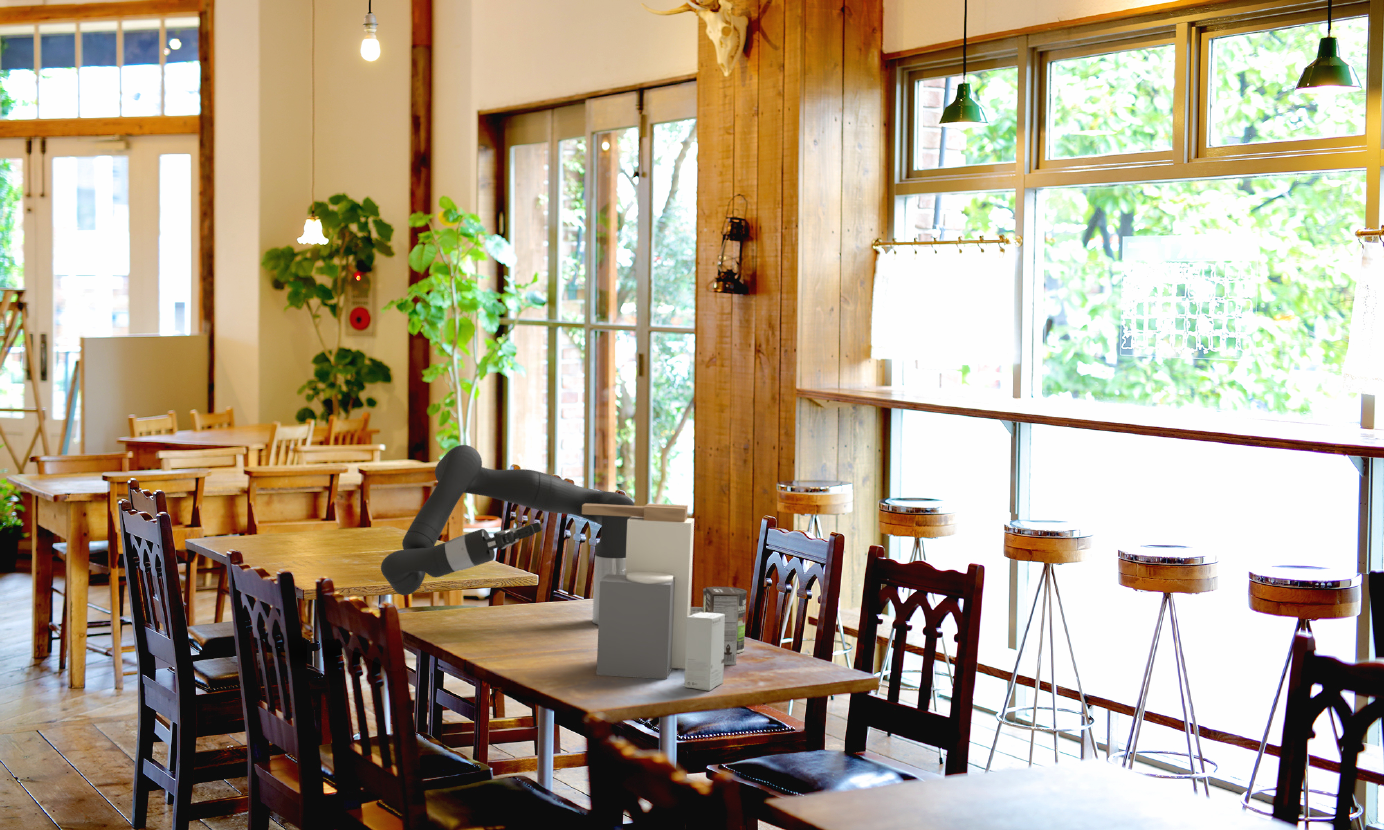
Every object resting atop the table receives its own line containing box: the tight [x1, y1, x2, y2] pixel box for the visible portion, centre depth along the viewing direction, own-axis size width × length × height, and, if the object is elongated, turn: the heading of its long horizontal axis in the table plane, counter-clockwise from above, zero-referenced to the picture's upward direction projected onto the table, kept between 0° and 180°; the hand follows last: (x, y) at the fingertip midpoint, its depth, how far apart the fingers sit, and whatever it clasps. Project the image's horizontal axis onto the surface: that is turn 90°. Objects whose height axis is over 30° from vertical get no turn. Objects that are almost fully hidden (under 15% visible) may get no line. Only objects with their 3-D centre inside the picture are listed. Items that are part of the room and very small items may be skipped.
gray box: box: [596, 572, 675, 680], centre depth 281 cm, size 10×15×21 cm, turn 86°
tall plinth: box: [625, 517, 695, 670], centre depth 290 cm, size 9×14×32 cm, turn 86°
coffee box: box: [705, 586, 739, 666], centre depth 295 cm, size 9×6×16 cm
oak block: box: [582, 503, 689, 522], centre depth 290 cm, size 7×23×3 cm, turn 85°
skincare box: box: [684, 612, 725, 692], centre depth 271 cm, size 8×6×15 cm
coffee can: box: [702, 587, 748, 654], centre depth 307 cm, size 10×10×14 cm
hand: (537, 527), depth 294 cm, fingers open, 8 cm apart
